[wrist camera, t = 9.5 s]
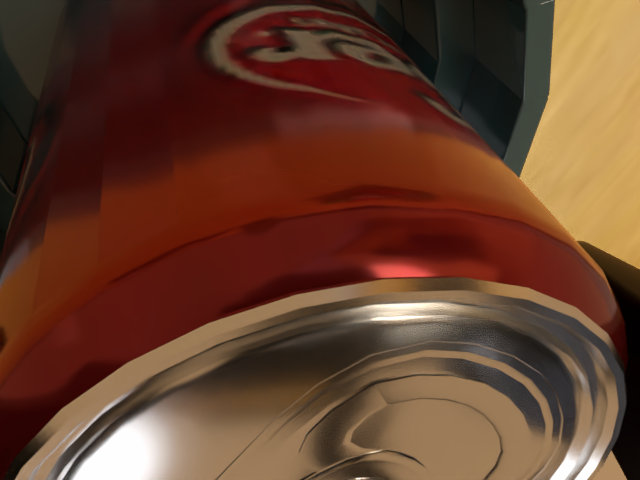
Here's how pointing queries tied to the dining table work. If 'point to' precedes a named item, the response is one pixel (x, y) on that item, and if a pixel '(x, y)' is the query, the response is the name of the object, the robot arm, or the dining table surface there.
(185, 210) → the soda can
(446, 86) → the bowl
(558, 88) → the dining table surface
